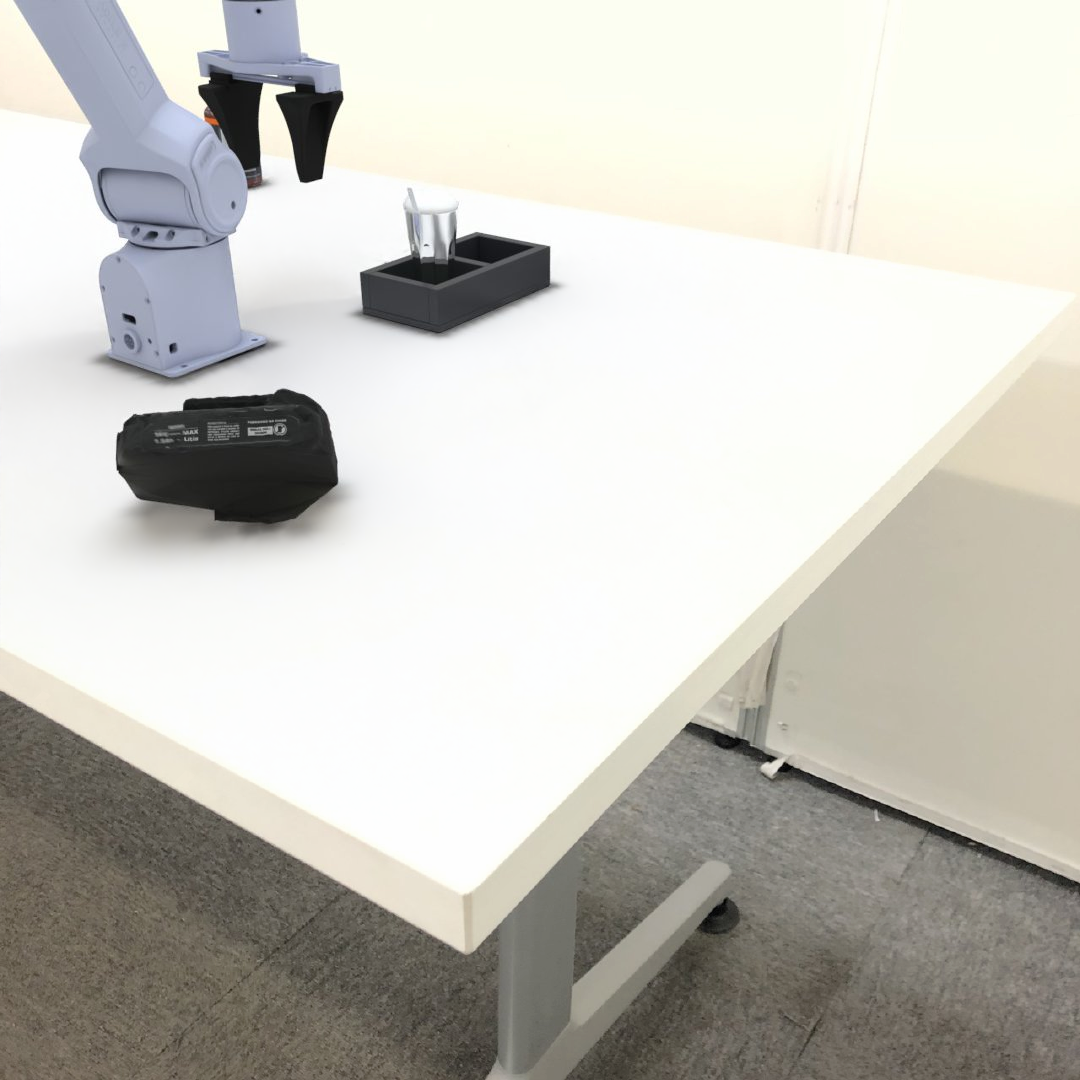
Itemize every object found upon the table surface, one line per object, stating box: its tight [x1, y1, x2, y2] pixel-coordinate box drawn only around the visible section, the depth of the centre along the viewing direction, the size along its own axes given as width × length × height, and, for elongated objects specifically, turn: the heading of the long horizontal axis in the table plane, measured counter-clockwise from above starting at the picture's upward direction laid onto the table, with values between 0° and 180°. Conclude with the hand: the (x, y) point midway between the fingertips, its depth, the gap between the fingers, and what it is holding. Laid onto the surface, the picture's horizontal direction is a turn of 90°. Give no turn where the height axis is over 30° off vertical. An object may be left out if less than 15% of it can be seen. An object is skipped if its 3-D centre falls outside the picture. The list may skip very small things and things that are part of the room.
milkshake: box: [402, 187, 460, 285], centre depth 94 cm, size 4×5×10 cm
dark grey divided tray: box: [359, 231, 551, 333], centre depth 99 cm, size 8×16×4 cm, turn 145°
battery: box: [115, 387, 339, 525], centre depth 64 cm, size 12×8×7 cm
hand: (279, 174), depth 96 cm, fingers open, 7 cm apart
